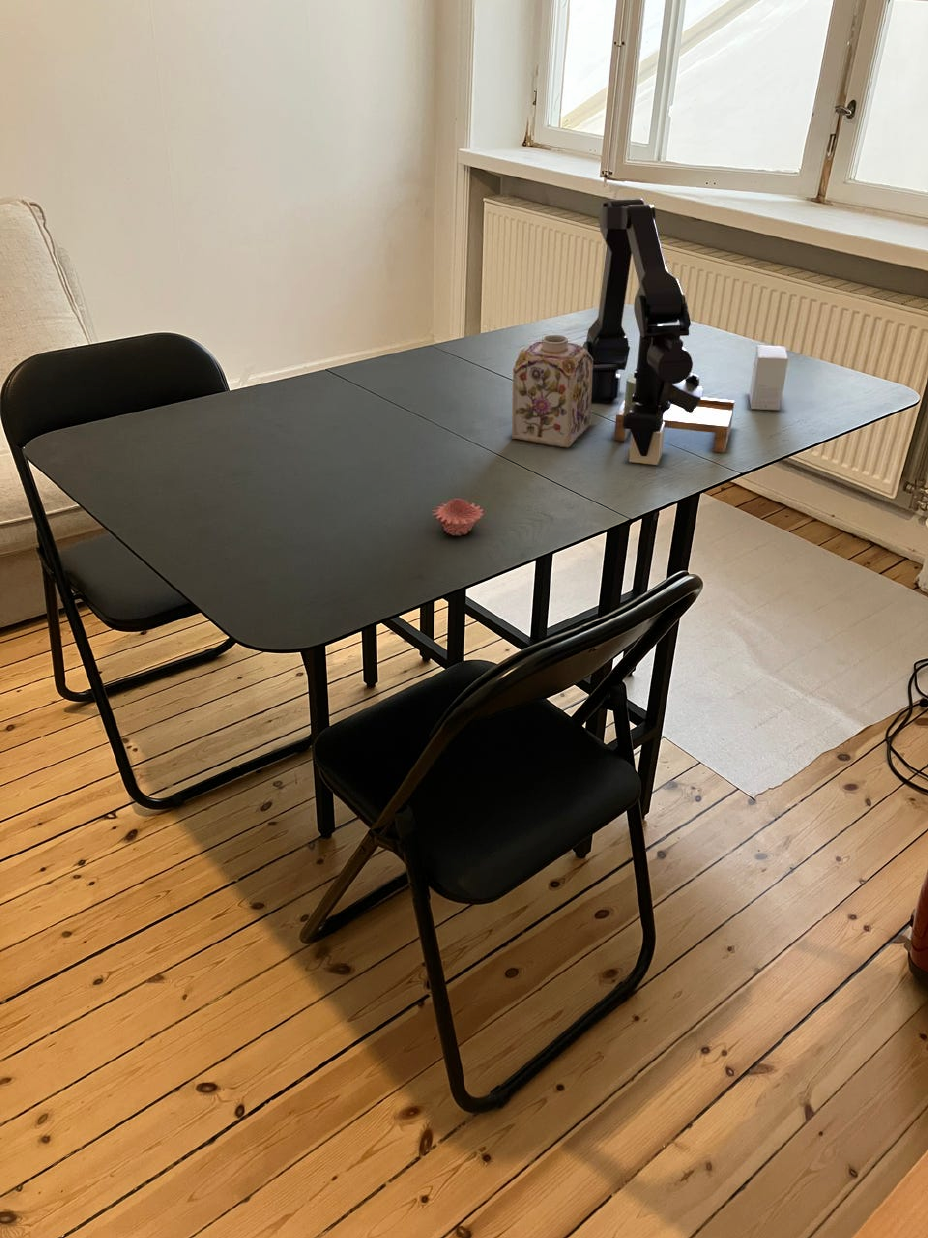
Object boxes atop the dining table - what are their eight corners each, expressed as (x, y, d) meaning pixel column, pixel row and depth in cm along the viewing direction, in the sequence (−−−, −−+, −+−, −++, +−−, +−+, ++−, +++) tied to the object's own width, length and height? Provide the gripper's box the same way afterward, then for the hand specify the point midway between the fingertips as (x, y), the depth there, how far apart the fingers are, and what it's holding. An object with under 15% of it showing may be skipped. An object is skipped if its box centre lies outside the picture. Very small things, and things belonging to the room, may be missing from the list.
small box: (779, 411, 196) (788, 358, 191) (750, 409, 197) (758, 357, 191) (777, 397, 203) (785, 345, 197) (748, 395, 204) (756, 344, 198)
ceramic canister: (622, 408, 185) (624, 382, 182) (627, 399, 189) (629, 374, 186) (648, 411, 184) (650, 385, 181) (652, 402, 187) (655, 376, 185)
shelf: (613, 440, 185) (616, 410, 182) (624, 418, 194) (627, 389, 191) (724, 452, 180) (728, 422, 177) (730, 430, 189) (734, 400, 185)
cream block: (629, 461, 176) (631, 429, 173) (634, 450, 180) (636, 419, 177) (657, 465, 175) (660, 432, 172) (662, 454, 179) (665, 422, 176)
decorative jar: (591, 426, 191) (596, 332, 181) (570, 449, 182) (575, 351, 172) (532, 417, 195) (535, 325, 185) (509, 439, 186) (510, 343, 176)
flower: (460, 516, 160) (460, 484, 157) (494, 533, 155) (494, 501, 152) (422, 531, 156) (420, 499, 153) (455, 550, 151) (455, 517, 148)
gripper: (695, 386, 159) (685, 477, 167) (709, 350, 174) (699, 435, 182) (625, 380, 162) (618, 469, 170) (645, 345, 177) (638, 428, 185)
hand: (646, 449), depth 177 cm, fingers closed on cream block, 5 cm apart
